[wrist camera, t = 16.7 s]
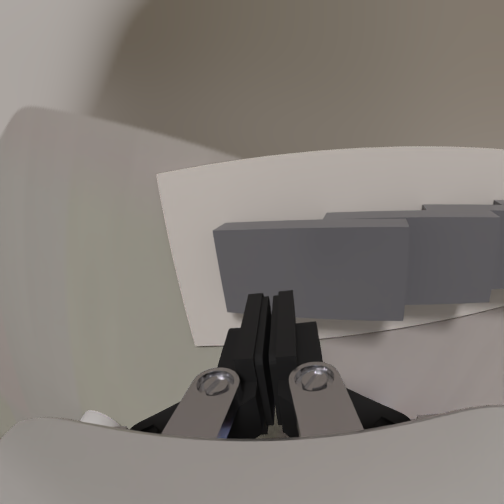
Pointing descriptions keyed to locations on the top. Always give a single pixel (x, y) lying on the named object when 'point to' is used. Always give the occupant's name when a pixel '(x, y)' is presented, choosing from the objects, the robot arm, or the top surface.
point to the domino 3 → (500, 280)
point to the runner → (314, 215)
